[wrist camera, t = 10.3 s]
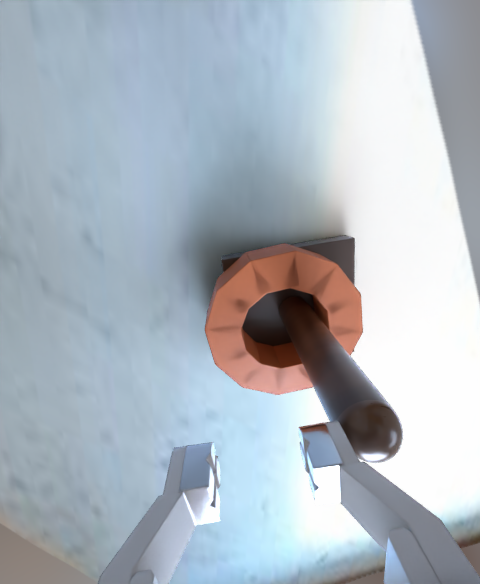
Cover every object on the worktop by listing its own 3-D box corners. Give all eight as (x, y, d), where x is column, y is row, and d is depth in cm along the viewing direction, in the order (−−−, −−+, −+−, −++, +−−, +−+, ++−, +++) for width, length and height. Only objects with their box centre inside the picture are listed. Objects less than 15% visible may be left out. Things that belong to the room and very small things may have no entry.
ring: (193, 263, 18) (187, 275, 15) (337, 230, 18) (358, 235, 15) (227, 380, 22) (227, 406, 19) (346, 353, 22) (365, 376, 19)
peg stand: (221, 255, 20) (213, 357, 7) (345, 235, 20) (572, 298, 7) (240, 360, 23) (259, 558, 10) (346, 342, 23) (497, 519, 10)
